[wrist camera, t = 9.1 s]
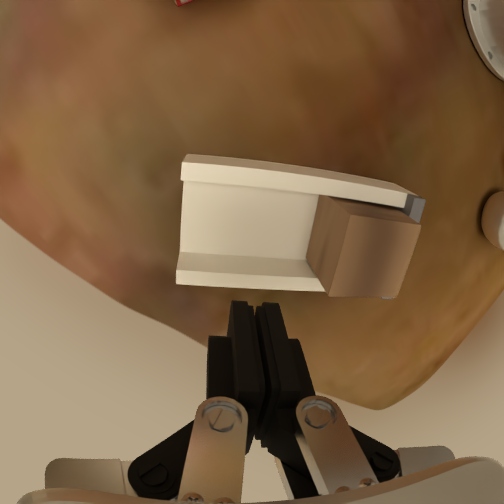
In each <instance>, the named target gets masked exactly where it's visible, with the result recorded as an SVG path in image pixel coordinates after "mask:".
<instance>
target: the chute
mask: <svg viewBox="0 0 504 504" xmlns="http://www.w3.org/2000/svg"><path fill="white" fill-rule="evenodd" d="M181 180H184V185H183V200H182V216H181V235H180V253H179V258H178V264H177V269H176V284H184V285H199V286H215V287H233V288H252V289H273V290H297V291H325V290H324V288H323V287H322V285H321V283H320V281H319V280H318V278H317V276H316V274H315V273H314V271H313V269H312V268H311V266H310V264H309V262H308V261H307V259H306V253H307V249H308V245H309V240H310V236H311V231H312V226H313V222H314V217H315V212H316V208H317V203H318V198H319V194H320V195H327V196H334V197H341V198H348V199H354V200H361V201H367V202H373V203H379V204H385V205H390V206H393V207H395V208H397V209H398V210H400V211H401V212H403V213H404V214H406V215H407V216H409V217H410V218H412V219H413V220H415V221H416V222H418V223H419V222H420V219H421V215H422V212H423V208H424V205H425V201H426V200H425V199H423V198H422V197H420V196H418V195H416V194H414V193H412V192H410V191H408V190H407V189H405V188H403V187H401V186H399V185H397V184H395V183H391V182H387V181H382V180H377V179H372V178H367V177H362V176H357V175H352V174H346V173H341V172H335V171H329V170H323V169H317V168H311V167H304V166H298V165H291V164H283V163H276V162H268V161H260V160H251V159H242V158H233V157H222V156H211V155H199V154H187V155H186V156H185V158H184V160H183V161H182V169H181ZM381 298H382V299H393V297H381Z"/></svg>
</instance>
